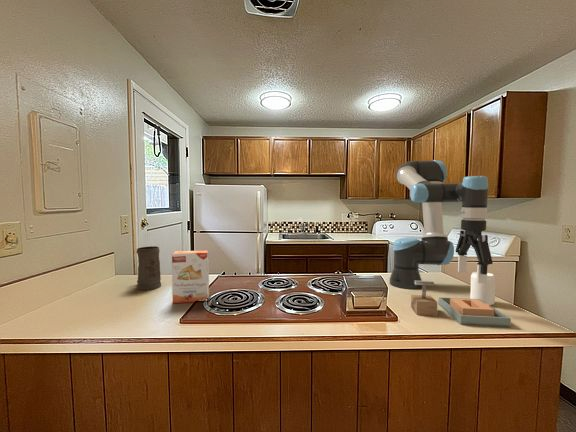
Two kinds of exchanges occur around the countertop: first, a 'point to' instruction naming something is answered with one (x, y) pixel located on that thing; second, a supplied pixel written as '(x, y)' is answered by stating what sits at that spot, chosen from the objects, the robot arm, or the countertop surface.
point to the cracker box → (190, 276)
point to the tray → (497, 320)
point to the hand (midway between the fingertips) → (471, 277)
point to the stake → (423, 301)
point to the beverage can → (483, 289)
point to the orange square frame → (472, 307)
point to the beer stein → (148, 268)
